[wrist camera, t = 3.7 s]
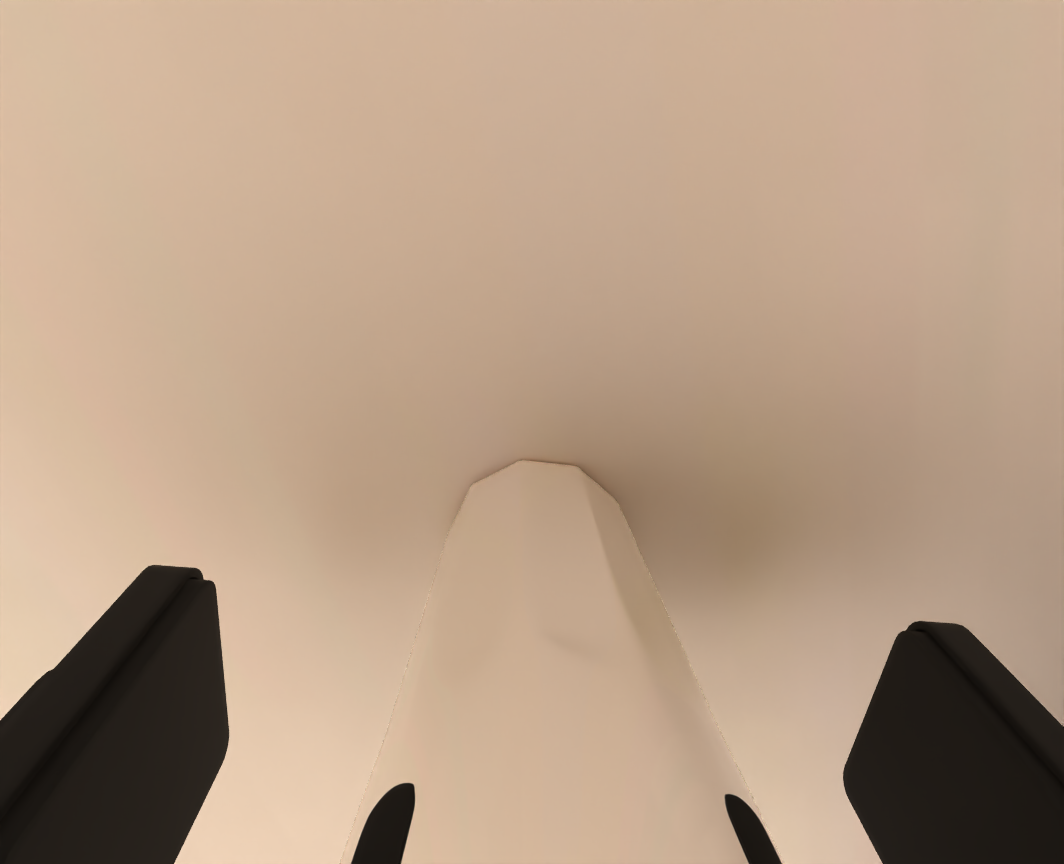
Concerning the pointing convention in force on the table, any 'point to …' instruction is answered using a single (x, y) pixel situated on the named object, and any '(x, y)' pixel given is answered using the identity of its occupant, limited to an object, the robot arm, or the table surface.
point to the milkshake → (551, 702)
